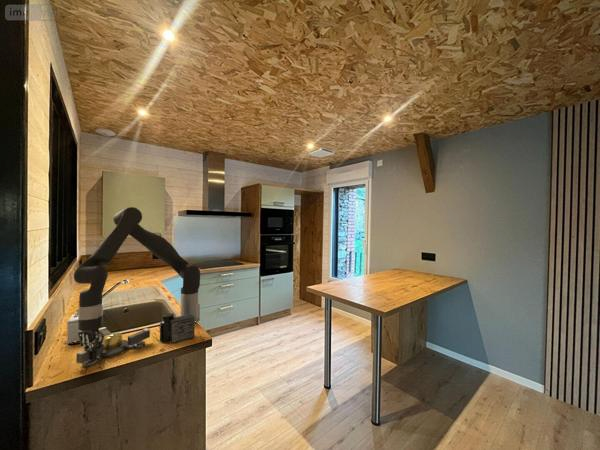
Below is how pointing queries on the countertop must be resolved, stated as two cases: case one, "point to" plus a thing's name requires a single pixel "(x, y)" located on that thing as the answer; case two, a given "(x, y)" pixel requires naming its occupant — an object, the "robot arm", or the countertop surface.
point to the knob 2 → (139, 337)
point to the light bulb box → (72, 329)
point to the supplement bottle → (165, 328)
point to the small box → (182, 328)
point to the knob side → (104, 331)
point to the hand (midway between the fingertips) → (90, 358)
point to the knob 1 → (87, 354)
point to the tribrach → (113, 348)
